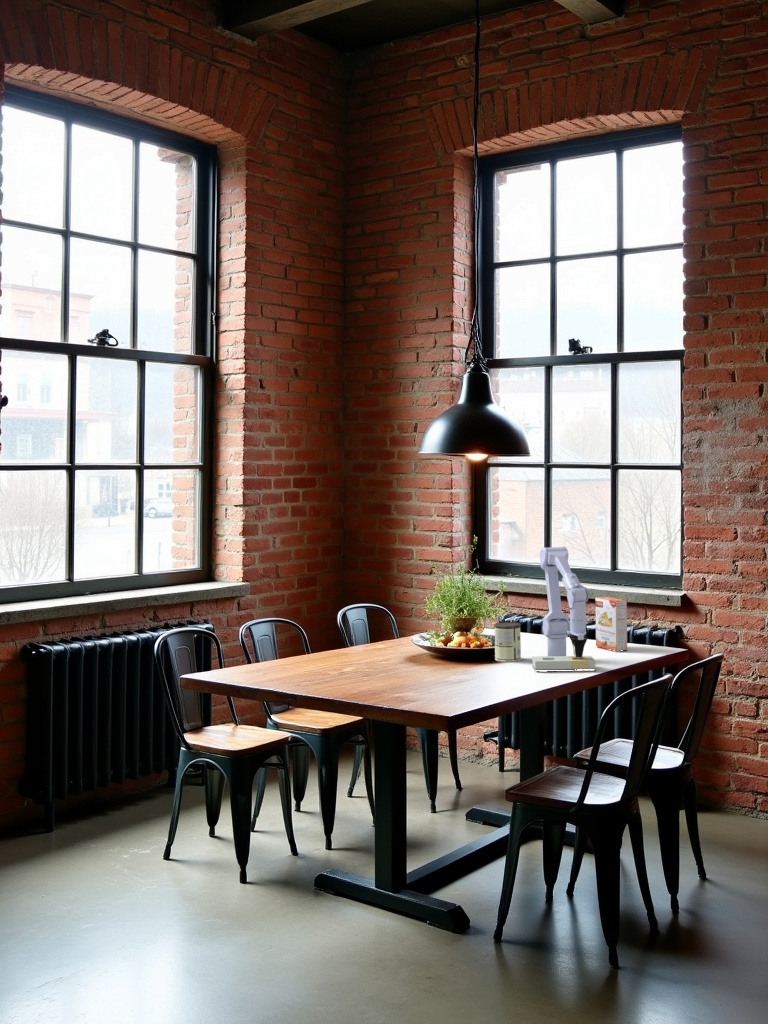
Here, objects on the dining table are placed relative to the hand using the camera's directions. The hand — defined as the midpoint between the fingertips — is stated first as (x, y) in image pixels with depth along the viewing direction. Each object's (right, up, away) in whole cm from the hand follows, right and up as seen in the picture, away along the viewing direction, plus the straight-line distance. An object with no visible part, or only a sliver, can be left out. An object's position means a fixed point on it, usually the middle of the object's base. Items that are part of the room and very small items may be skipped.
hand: (578, 655), depth 404 cm
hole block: (-5, -5, 0) cm, 7 cm away
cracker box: (+21, -3, +41) cm, 46 cm away
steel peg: (0, -3, 0) cm, 3 cm away
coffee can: (-24, -5, +22) cm, 33 cm away
